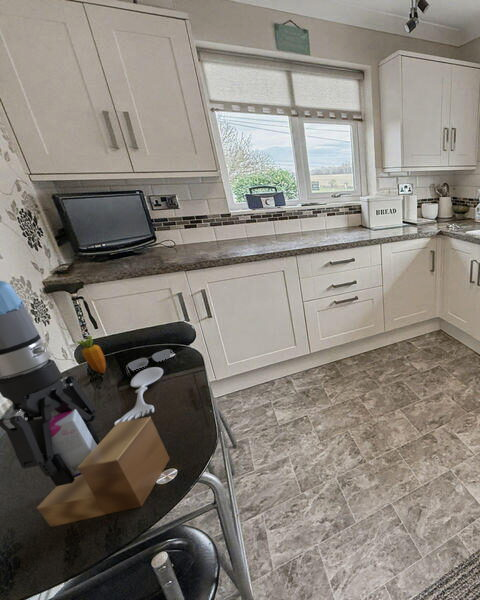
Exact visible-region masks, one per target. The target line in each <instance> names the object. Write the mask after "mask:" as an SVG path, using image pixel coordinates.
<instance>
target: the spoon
mask: <svg viewBox="0 0 480 600" xmlns="http://www.w3.org/2000/svg"><path fill="white" fill-rule="evenodd" d="M163 374H164V369H163V368H162V367H158V366H153V367H147V368H145V369H143V370H141V371H139V372H138V373H136V374H135V375H134V376H133V377H132V378H131V381H130V386H131V387H132V388H136V390H135V391H134V392H135V394H137V395H136V396H137V397H136V401H135V405H134V407H132V409H131V410H129V411H128V412H126V413H125V414H124V415H123V416H122V417H121V418H118V419H117V420H116V421H114V426H115V425H116V424H117V423H119V422H124V421H129V420H134V419H140V418H144V417H146V415H147V416H148V415H150V413H152V414H153V413H155V407H154V405H152V404H147V403H146V402H145V400H144V396H143V395H144V393H145V392H146V391H147V390H148V386H150V385H152V384H153V383H155V382H157V381H158V380H159V379H161V377H162V376H163ZM137 388H138V389H137Z"/></svg>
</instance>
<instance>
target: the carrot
mask: <svg viewBox="0 0 480 600" xmlns="http://www.w3.org/2000/svg"><path fill="white" fill-rule="evenodd" d="M76 343H77V344H78V345H80V346H82V347H84V348H83V349H82V350H81V354H82V356H83V357H84V359H85V361H86V363H87V364H88V365H89V366H90V368H91V369H93V370H94V371H95V372H96V373H98V374H99V375H101V373H104V372H105V373H106V370H107V364H106V359H105V355H104V352H103V351H102V348H101V347H100V346H99V345H98V344H93V343H94V340H93V336H92V335H88V338H86V341H84V340H83V339H81V340H78V341H77V342H76ZM105 373H104V374H105Z"/></svg>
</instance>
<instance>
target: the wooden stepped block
mask: <svg viewBox="0 0 480 600" xmlns="http://www.w3.org/2000/svg"><path fill="white" fill-rule="evenodd" d="M170 460H171V459H170V456H169V454H168V452H167V449H166V447H165V445H164V443H163V441H162V439H161V437H160V434H159V432H158V430H157V428H156V425H155V424H154V421H153V418H152V416H144V417H139V418H138V419H132V420H129V421H124V422H119V423H117V424H116V425H115V424H114V426H113V427H112V429H111V430H110V431H109V432H108V433H107V434H106V435H105V436H104V437H103V438H102V439H101V440H100V443H99V444H98V445H97V446H96V447H95V448H94V450H93V451H92V452H91V453H90V454H89V455H88V456H87V457H86V458H85V459H84V461H83V462H82V463H81V464H80V465H79V466H78V467H77V468H78V469H79V471H80V472H81V475H79V476H77V477H75V478H74V479H75V480H74V481H73V483H70V484H65V485H60V486H56V485H55V487H54V489H53V490H51V491H50V493H49V494H48V495H47V496H46V497H45V498H44V499H43V500H42V501H41V502H40V503H39V505H38V506H37V507H36V509H37V510H38V511H39V512H40V514H41V516H42V517H43V518H44V520H45V521H46V523H47V524H48V526H49V527H50V528H52V527H57V526H62V525H65V524H66V525H67V524H71V523H76V522H79V521H83V520H88V519H92V518H93V519H94V518H97V517H101V516H106V515H109V514H115V513H119V512H122V511H127V510H132V509H136V508H141V507H143V505H144V503H145V502H146V500H147V499H148V496H149V495H150V493H151V492H152V490H153V488H154V487H155V486H156V483H157V481H158V480H159V479H160V477H161V475H162V474H163V472H164V470H165V468H166V466H167V465H168V463H169V462H170Z"/></svg>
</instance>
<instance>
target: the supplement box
mask: <svg viewBox="0 0 480 600" xmlns="http://www.w3.org/2000/svg"><path fill="white" fill-rule="evenodd" d="M49 424H50V431H51V439H52V446H53V453H54V455H55V454H60V456H61V458H62V459H63V461H64V462H65V464H66V466H67V467H68V469H69V471H70V472H71V474H72V475H73V477H74V478H75V477H77V476H79V475H81V472H80V471H79V469H78V468H77V467H78V466H79V465H80V464H81V463H82V462H83V461H84V459H85V458H86V457H87V456H88V455H89V454H90V453H91V452H92V451H93V450H94V448H95V447H96V446H97V444H96V442H95V440H94V439H93V437H92V435H91V433H90V432H89V430H88V428H87V426H86V425H85V423H84V421H83V420H82V418H81V416H80V415H79V413H78V412H77V410H76V409H74V410H73V411H68V412H64V413H61V414H60V413H59V414H56V415H52V419H51V420H50V421H49Z"/></svg>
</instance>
